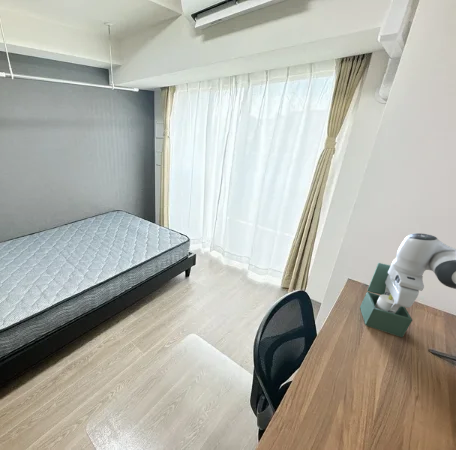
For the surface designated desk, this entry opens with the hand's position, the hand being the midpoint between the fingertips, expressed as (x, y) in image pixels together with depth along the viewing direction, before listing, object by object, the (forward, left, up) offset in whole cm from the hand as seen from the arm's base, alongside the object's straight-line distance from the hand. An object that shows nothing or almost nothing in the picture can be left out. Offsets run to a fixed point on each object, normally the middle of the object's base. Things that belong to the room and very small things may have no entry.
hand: (390, 302), depth 98 cm
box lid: (0, -7, +6) cm, 9 cm away
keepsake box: (0, 0, -10) cm, 10 cm away
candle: (0, 0, -10) cm, 10 cm away
